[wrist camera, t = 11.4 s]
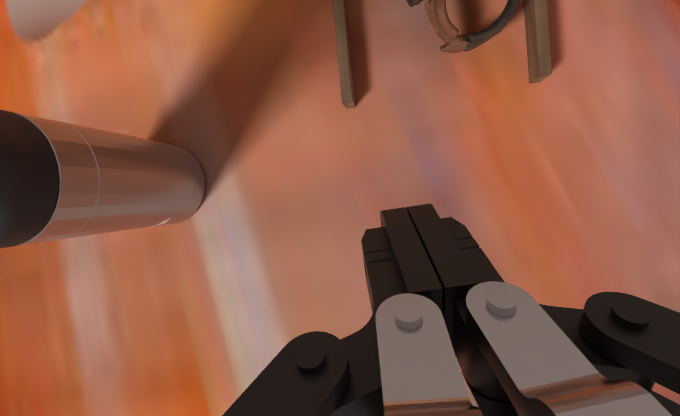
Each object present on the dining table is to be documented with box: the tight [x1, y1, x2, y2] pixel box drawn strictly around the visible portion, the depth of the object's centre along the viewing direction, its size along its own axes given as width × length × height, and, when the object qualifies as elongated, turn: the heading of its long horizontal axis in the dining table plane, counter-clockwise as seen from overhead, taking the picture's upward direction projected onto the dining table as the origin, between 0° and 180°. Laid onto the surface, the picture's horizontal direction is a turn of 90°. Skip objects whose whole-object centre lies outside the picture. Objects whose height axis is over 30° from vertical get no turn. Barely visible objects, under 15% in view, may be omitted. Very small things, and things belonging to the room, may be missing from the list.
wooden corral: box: [333, 0, 552, 108], centre depth 33 cm, size 19×16×2 cm
